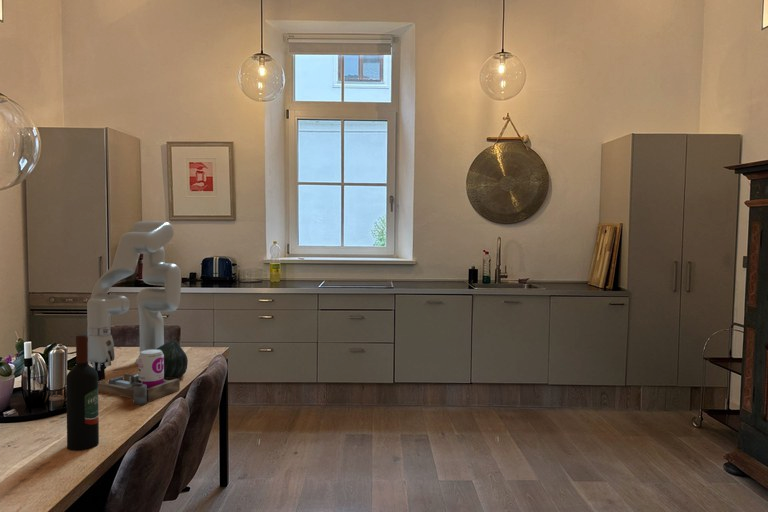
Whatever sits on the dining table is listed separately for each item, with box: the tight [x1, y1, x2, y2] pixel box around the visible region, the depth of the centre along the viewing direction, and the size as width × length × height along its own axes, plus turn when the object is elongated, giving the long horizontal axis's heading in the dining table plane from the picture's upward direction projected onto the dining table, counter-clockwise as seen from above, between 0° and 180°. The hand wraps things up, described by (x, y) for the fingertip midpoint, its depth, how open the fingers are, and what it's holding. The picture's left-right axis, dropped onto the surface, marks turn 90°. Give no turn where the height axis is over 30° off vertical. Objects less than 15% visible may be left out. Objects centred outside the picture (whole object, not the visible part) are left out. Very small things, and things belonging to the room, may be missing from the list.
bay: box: [98, 372, 181, 407], centre depth 194 cm, size 19×27×9 cm
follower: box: [107, 374, 138, 388], centre depth 198 cm, size 10×14×6 cm
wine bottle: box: [65, 334, 100, 452], centre depth 148 cm, size 8×8×30 cm
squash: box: [157, 340, 189, 379], centre depth 212 cm, size 14×15×15 cm
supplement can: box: [137, 349, 165, 388], centre depth 193 cm, size 8×8×15 cm
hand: (99, 380), depth 204 cm, fingers closed
